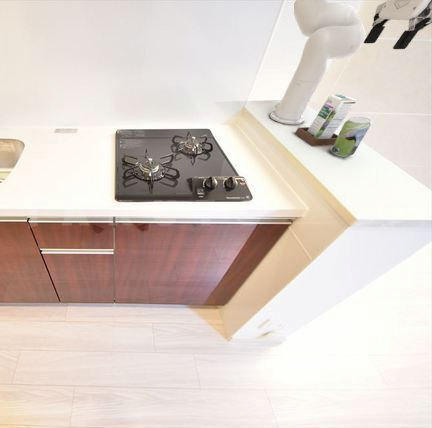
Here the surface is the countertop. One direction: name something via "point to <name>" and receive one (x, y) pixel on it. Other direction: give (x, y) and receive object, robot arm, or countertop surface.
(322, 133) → the syrup box
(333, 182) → the countertop surface
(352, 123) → the beverage can
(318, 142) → the tray
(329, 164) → the countertop surface
